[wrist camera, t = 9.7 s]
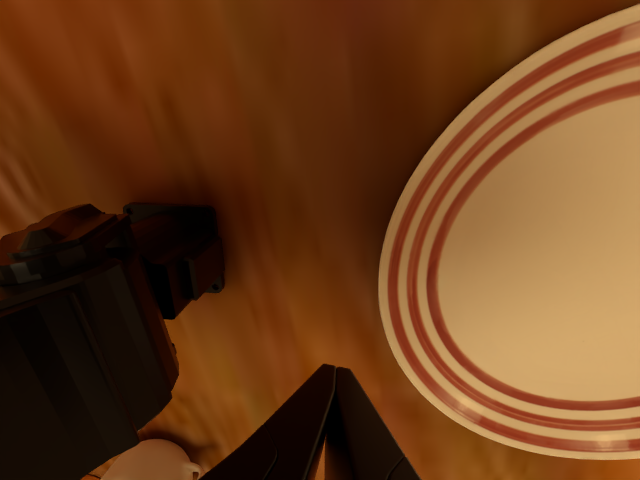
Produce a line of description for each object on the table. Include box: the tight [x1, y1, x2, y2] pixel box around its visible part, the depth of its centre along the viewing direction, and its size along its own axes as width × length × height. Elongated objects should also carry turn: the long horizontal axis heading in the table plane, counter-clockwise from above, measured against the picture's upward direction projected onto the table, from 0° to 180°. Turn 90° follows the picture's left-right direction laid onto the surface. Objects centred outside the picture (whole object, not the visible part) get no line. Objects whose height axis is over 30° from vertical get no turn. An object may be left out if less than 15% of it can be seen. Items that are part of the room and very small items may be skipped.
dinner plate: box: [378, 4, 640, 460], centre depth 19 cm, size 28×27×3 cm
